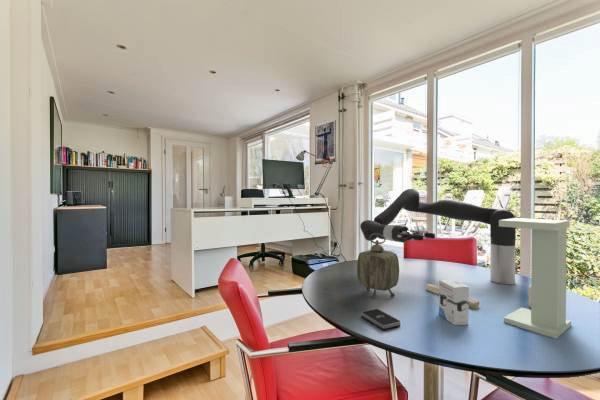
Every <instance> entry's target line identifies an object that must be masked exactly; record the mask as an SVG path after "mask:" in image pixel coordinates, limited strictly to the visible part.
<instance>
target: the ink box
mask: <svg viewBox="0 0 600 400" xmlns="http://www.w3.org/2000/svg"><path fill="white" fill-rule="evenodd" d="M438 281H439V282H438V286H439V295H438V314H439V316H441V317H442V318H443V319H445V320H447V321H448V322H450V323H451V324H452V325H454V326H461V325H463V326H466V325H469V317H470V316H469V314H470V313H469V309H470V307H469V298H470V297H469V296H470V295H469V286H468V285H466V284H464V283H461V282H459V281H457V280H456V279H439V280H438Z"/></svg>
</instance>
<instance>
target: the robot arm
mask: <svg viewBox="0 0 600 400" xmlns="http://www.w3.org/2000/svg"><path fill="white" fill-rule="evenodd" d="M401 210H405V211H409V212H413V213H420V214H421V213H422V214H429V215H433V216H438V217H439V216H440V217H443V218H447V219H453V220H458V221H466V222H467V221H468V222H477V223H482V224H486V225H490V226H489V227H490V229H489V231H490V232H489V233H490V234H489V237H490V281H491V282H493V283H496V284H499V285H501V284H502V285H514V284H515V283H516V234H517V233H516V230H517V229H516V228H514V227H501V226H499V220H504V219H512V218H516V216H515V214H514V213H513V212H512V211H510V210H509V209H506V208H505V209H504V208H491V207H483V206H478V205H475V204H471V203H467V202H463V201H460V200H455V199H454V200H453V199H448V198H447V199H441V200H438V201H434V202H423V201H420V193H419V191H418V190H417V189H414V188H408V189H405V190H403V191H402V192H401V193H400V194H399V196H397V198H395V200H394V201H392V203H391V204H390V205H388V207H387V208H385V209H384V210H383V211H381V212H380V213H378V215H376V216H375V217H374V219H372V220H370V219H366V220H363V221H362V222H361V223H360V225H359V227H360V230H361V233H362V235H363V238H364V239H365V240H366V241H368V242H371V241H370V239H371V240H372V241H374V240H375V241H376V240H377V239H378V240H379V239H380V240H384V238H383V237H382V236H380V235H372V236H371V237H370V239H369V236H370V235H371V234H373V233H379V234H382V235H383V236H384V237H385V241H390V242H396V243H406V242H408V241H421V242H422V241H424V239H432V240H433V239H436V233H434V232H428V231H427V230H426V231H425V230H414V229H410V230H409V227H407V226H406V225H398V224H391V223H392V222H394V220H395V219H396V218H397V217H398V215H399V213H400V212H401ZM515 285H516V284H515Z"/></svg>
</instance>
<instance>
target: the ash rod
mask: <svg viewBox="0 0 600 400" xmlns="http://www.w3.org/2000/svg"><path fill="white" fill-rule="evenodd" d="M426 291H429V292H431V293H434V294H436V295H438V296H439V285H436V284H432V283H427V284H426ZM469 309H473V310H477V309H480V301H477V300H476V299H473V298H470V297H469Z"/></svg>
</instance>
